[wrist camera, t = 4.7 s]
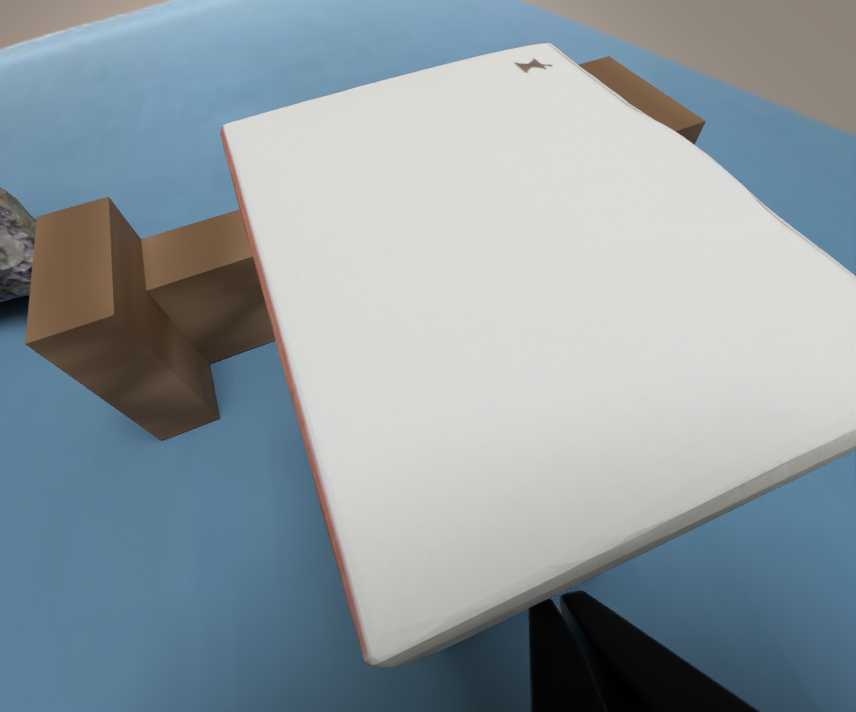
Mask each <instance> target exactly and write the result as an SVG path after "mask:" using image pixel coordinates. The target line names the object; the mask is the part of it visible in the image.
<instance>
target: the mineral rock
mask: <svg viewBox="0 0 856 712" xmlns="http://www.w3.org/2000/svg"><path fill="white" fill-rule="evenodd" d="M36 222H37V220H35V219H34V218H32V216H31V215H30V214H29V213H28V212H27V211H26V209H25V208H24V207H23V206H22V205H21V204H20V203H19V201H18V200H17V199H16V198H14V197H13V196H12V195H11V194H9V193H8V192H7V191H5V190H4V189H2V188H1V187H0V302H2V301H7V300H10V299H13V298H17V297H21V296H28V295H30V286H31V276H32V265H33V254H34V244H35V233H36Z"/></svg>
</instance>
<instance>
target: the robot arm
mask: <svg viewBox="0 0 856 712" xmlns="http://www.w3.org/2000/svg"><path fill="white" fill-rule="evenodd" d="M560 605H561V612H562V616H561V614H560V612H559V611H558V609H557V607H556V606H555V604H554V603H553V601H552V600H551V599H549V598H548V599H546V600H544V601H542V602H540V603H538V604H536V605H534V606H532V607H530V608H529V648H530V692H531V712H760V711H758V710H757V709H755V708H754V707H752V706H751V705H749V704H748V703H746V702H745V701H744V700H742V699H741V698H739V697H738V696H736V695H735V694H733V693H732V692H730V691H729V690H728V689H726V688H725V687H723V686H722V685H720V684H719V683H717V682H716V681H714V680H713V679H711V678H710V677H709V676H707V675H706V674H704V673H703V672H701V671H700V670H698V669H697V668H695V667H694V666H692V665H691V664H690V663H688V662H687V661H685V660H684V659H682V658H681V657H679V656H678V655H676V654H675V653H674V652H672V651H671V650H669V649H668V648H666V647H665V646H663V645H662V644H660V643H659V642H657V641H656V640H655V639H653V638H652V637H650V636H649V635H647V634H646V633H644V632H643V631H641V630H640V629H638V628H637V627H636V626H634V625H633V624H631V623H630V622H628V621H627V620H625V619H624V618H622V617H621V616H620V615H618V614H617V613H615V612H614V611H612V610H611V609H609V608H608V607H606V606H605V605H603V604H602V603H601V602H599V601H598V600H596V599H595V598H593V597H592V596H590V595H589V594H587V593H586V592H584V591H581V590H579V591H574V592H570V593H566V594H563V595H562V596H561V598H560Z"/></svg>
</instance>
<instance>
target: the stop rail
mask: <svg viewBox="0 0 856 712" xmlns="http://www.w3.org/2000/svg"><path fill="white" fill-rule="evenodd" d="M579 66H580V67H581V68H583V69H584V70H585V71H587V72H588V73H590V74H591V75H593V76H594V77H595V78H597V79H598V80H599V81H600V82H602V83H603V84H604V85H606V86H607V87H608V88H610V89H611V90H612V91H614V92H615V93H617V94H618V95H619V96H621V97H622V98H623V99H624V100H626V101H627V102H628V103H629V104H631V105H632V106H634V107H635V108H637V109H639V110H640V111H642V112H643V113H645V114H646V115H648V116H649V117H651V118H652V119H654V120H656V121H658V122H660V123H662V124H664V125H665V126H667V127H669V128H671V129H672V130H674V131H675V132H677V133H679V134H680V135H682V136H683V137H684V138H686V139H687V140H688V141H690V142H691V143H692V144H695V142H696V140H697V138H698V136H699V134H700V132H701V130H702V128H703V126H704V124H705V121H704V120H703V119H701V118H700V117H698V116H697V115H695V114H694V113H692V112H691V111H689V110H688V109H686V108H685V107H683V106H682V105H680V104H679V103H678V102H676V101H675V100H673V99H672V98H670V97H669V96H667V95H666V94H664V93H663V92H661V91H660V90H658V89H657V88H655V87H654V86H652V85H651V84H649V83H648V82H646V81H645V80H643V79H642V78H640V77H639V76H637V75H636V74H634V73H633V72H631V71H630V70H628V69H627V68H625V67H624V66H622V65H621V64H619V63H618V62H617V61H615V60H614V59H612V58H611V57H609V56H608V57H605V58H601V59H598V60H594V61H591V62H587V63H583V64H580V65H579ZM272 341H275V338H274V334H273V330H272V326H271V322H270V318H269V314H268V310H267V306H266V302H265V299H264V295H263V292H262V288H261V285H260V281H259V278H258V274H257V270H256V267H255V263H254V259H253V256H252V252H251V248H250V245H249V241H248V238H247V234H246V231H245V227H244V223H243V219H242V216H241V212H240V210H237V211H233V212H230V213H227V214H224V215H220V216H217V217H214V218H210V219H207V220H204V221H200V222H197V223H194V224H190V225H187V226H184V227H180V228H177V229H174V230H170V231H167V232H164V233H160V234H157V235H154V236H150V237H147V238H144V239H140V237H139V236H138V235H137V233H136V232H135V231H134V229H133V228H132V227H131V226H130V224H129V223H128V222H127V220H126V219H125V218H124V216H123V215H122V214H121V213H120V211H119V210H118V209H117V207H116V206H115V205H114V203H113V202H112V201H111V199H110V198H109V197H106V198H103V199H99V200H96V201H92V202H88V203H85V204H81V205H78V206H74V207H71V208H67V209H64V210H60V211H56V212H53V213H49V214H46V215H42V216H39V217H37V222H36V233H35V244H34V254H33V265H32V276H31V286H30V297H29V308H28V318H27V329H26V340H25V344H26V345H27V346H29V347H30V348H31V349H33V350H34V351H36V352H37V353H38V354H40V355H41V356H43V357H44V358H45V359H47V360H48V361H50V362H51V363H53V364H54V365H55V366H57V367H58V368H60V369H61V370H62V371H64V372H65V373H67V374H68V375H69V376H71V377H72V378H74V379H75V380H76V381H78V382H79V383H81V384H82V385H84V386H85V387H86V388H88V389H89V390H91V391H92V392H93V393H95V394H96V395H98V396H99V397H100V398H102V399H103V400H105V401H106V402H108V403H109V404H110V405H112V406H113V407H115V408H116V409H117V410H119V411H120V412H122V413H123V414H124V415H126V416H127V417H129V418H130V419H131V420H133V421H134V422H136V423H137V424H139V425H140V426H141V427H143V428H144V429H146V430H147V431H148V432H150V433H151V434H153V435H154V436H155V437H157V438H158V439H160V440H161V441H162V440H165V439H167V438H170V437H173V436H175V435H178V434H180V433H183V432H186V431H188V430H191V429H193V428H196V427H199V426H201V425H204V424H206V423H209V422H212V421H214V420H217V419H220V417H219V412H218V407H217V401H216V396H215V391H214V385H213V380H212V375H211V370H210V364H211V363H213V362H216V361H219V360H222V359H225V358H227V357H230V356H233V355H236V354H239V353H241V352H244V351H247V350H250V349H252V348H255V347H258V346H261V345H264V344H266V343H269V342H272Z"/></svg>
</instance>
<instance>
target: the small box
mask: <svg viewBox="0 0 856 712" xmlns="http://www.w3.org/2000/svg"><path fill="white" fill-rule="evenodd" d="M221 138H222V143H223V147H224V151H225V154H226V158H227V162H228V166H229V169H230V173H231V177H232V181H233V185H234V189H235V193H236V197H237V200H238V204H239V208H240V212H241V216H242V219H243V223H244V227H245V231H246V234H247V238H248V241H249V245H250V248H251V252H252V256H253V259H254V263H255V267H256V270H257V274H258V278H259V281H260V285H261V288H262V292H263V295H264V299H265V302H266V306H267V310H268V314H269V318H270V322H271V326H272V330H273V334H274V338H275V341H276V345H277V348H278V352H279V355H280V359H281V362H282V366H283V370H284V373H285V377H286V381H287V384H288V387H289V390H290V394H291V397H292V401H293V405H294V408H295V412H296V416H297V419H298V423H299V427H300V430H301V434H302V437H303V441H304V445H305V448H306V452H307V456H308V459H309V463H310V467H311V471H312V475H313V479H314V482H315V486H316V490H317V494H318V498H319V502H320V506H321V509H322V513H323V516H324V520H325V524H326V527H327V531H328V534H329V538H330V541H331V545H332V548H333V552H334V555H335V559H336V562H337V566H338V570H339V573H340V577H341V580H342V584H343V587H344V591H345V594H346V598H347V601H348V605H349V609H350V612H351V616H352V619H353V623H354V626H355V630H356V633H357V637H358V641H359V644H360V648H361V651H362V655H363V658H364V662H366V663H369V664H371V665H373V666H376V667H396V666H401V665H404V664H407V663H409V662H412V661H415V660H417V659H420V658H423V657H425V656H428V655H431V654H434V653H437V652H439V651H441V650H443V649H445V648H447V647H450V646H452V645H454V644H456V643H458V642H460V641H462V640H465V639H467V638H469V637H471V636H473V635H475V634H477V633H479V632H481V631H483V630H486V629H488V628H490V627H492V626H494V625H496V624H498V623H500V622H502V621H504V620H506V619H508V618H510V617H512V616H515V615H517V614H519V613H521V612H523V611H525V610H527V609H529V608H530V607H532V606H534V605H536V604H538V603H540V602H542V601H544V600H546V599H548V598H551V597H553V596H556V595H558V594H560V593H562V592H564V591H566V590H568V589H570V588H572V587H574V586H576V585H578V584H580V583H582V582H584V581H586V580H588V579H590V578H593V577H595V576H597V575H599V574H601V573H603V572H605V571H607V570H609V569H611V568H613V567H616V566H618V565H620V564H622V563H624V562H626V561H628V560H630V559H632V558H634V557H637V556H639V555H641V554H643V553H645V552H647V551H649V550H651V549H653V548H655V547H658V546H660V545H662V544H664V543H666V542H668V541H670V540H672V539H674V538H676V537H678V536H680V535H682V534H684V533H686V532H688V531H690V530H693V529H695V528H697V527H699V526H701V525H703V524H705V523H707V522H709V521H711V520H713V519H715V518H717V517H719V516H721V515H723V514H725V513H727V512H729V511H731V510H734V509H736V508H738V507H740V506H742V505H744V504H746V503H748V502H750V501H752V500H754V499H756V498H758V497H760V496H762V495H764V494H766V493H768V492H770V491H772V490H775V489H777V488H779V487H781V486H783V485H785V484H787V483H789V482H791V481H793V480H795V479H797V478H799V477H801V476H803V475H805V474H807V473H809V472H811V471H813V470H816V469H818V468H820V467H822V466H824V465H826V464H828V463H830V462H832V461H834V460H836V459H838V458H840V457H842V456H844V455H846V454H848V453H850V452H852V451H854V450H856V276H855V275H854V274H852V273H851V272H850V271H848V270H847V269H846V268H845V267H843V266H842V265H841V264H840V263H838V262H837V261H836V260H835V259H833V258H832V257H831V256H829V255H828V254H827V253H825V252H824V251H823V250H822V249H820V248H819V247H818V246H816V245H815V244H814V243H812V242H811V241H810V240H808V239H807V238H806V237H804V236H803V235H802V234H801V233H799V232H798V231H797V230H795V229H794V228H793V227H791V226H790V225H789V224H788V223H786V222H785V221H784V220H782V219H781V218H780V217H778V216H777V215H776V214H775V213H774V212H772V211H771V210H770V209H769V208H767V207H766V206H765V205H764V204H763V203H762V202H760V201H759V200H758V199H757V198H756V197H755V196H754V195H753V194H752V193H751V192H749V191H748V190H747V189H746V188H745V187H744V186H743V185H742V184H741V183H739V182H738V181H737V180H736V179H735V178H734V177H733V176H732V175H730V174H729V173H728V172H727V171H726V170H725V169H724V168H722V167H721V166H720V165H719V164H718V163H717V162H716V161H714V160H713V159H712V158H711V157H710V156H709V155H707V154H706V153H705V152H703V151H702V150H701V149H699V148H698V147H696V146H695V145H694V144H692V143H691V142H690V141H688V140H687V139H686V138H684V137H683V136H682V135H680V134H679V133H677V132H675V131H674V130H672V129H671V128H669V127H667V126H665V125H664V124H662V123H660V122H658V121H656V120H654V119H652V118H651V117H649V116H648V115H646V114H645V113H643V112H642V111H640V110H639V109H637V108H635V107H634V106H632V105H631V104H629V103H628V102H627V101H626V100H624V99H623V98H622V97H621V96H619V95H618V94H617V93H615V92H614V91H612V90H611V89H610V88H608V87H607V86H606V85H604V84H603V83H602V82H600V81H599V80H598V79H597V78H595V77H594V76H593V75H591V74H590V73H588V72H587V71H585V70H584V69H583V68H581V67H580V66H579V65H577V64H576V63H575V62H573V61H572V60H571V59H570V58H568V57H567V56H566V55H564V54H563V53H562V52H561V51H560V50H559V49H558V48H556V47H555V46H553V45H552V44H550V43H544V44H535V45H529V46H524V47H519V48H514V49H509V50H504V51H499V52H494V53H490V54H486V55H482V56H477V57H473V58H469V59H465V60H461V61H457V62H453V63H449V64H445V65H441V66H437V67H433V68H429V69H425V70H421V71H418V72H414V73H410V74H406V75H402V76H398V77H395V78H391V79H387V80H383V81H379V82H375V83H372V84H368V85H364V86H360V87H356V88H353V89H350V90H346V91H342V92H339V93H335V94H331V95H328V96H324V97H320V98H317V99H313V100H308V101H304V102H301V103H298V104H295V105H291V106H287V107H284V108H280V109H276V110H272V111H269V112H266V113H262V114H259V115H256V116H252V117H249V118H245V119H242V120H238V121H234V122H230V123H228V124H225V125H224V126H223V127H222V128H221Z"/></svg>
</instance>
